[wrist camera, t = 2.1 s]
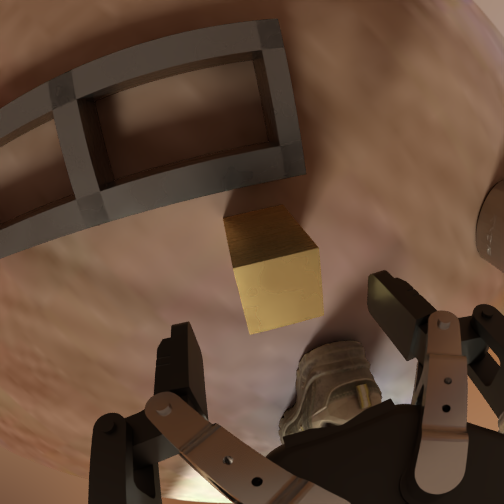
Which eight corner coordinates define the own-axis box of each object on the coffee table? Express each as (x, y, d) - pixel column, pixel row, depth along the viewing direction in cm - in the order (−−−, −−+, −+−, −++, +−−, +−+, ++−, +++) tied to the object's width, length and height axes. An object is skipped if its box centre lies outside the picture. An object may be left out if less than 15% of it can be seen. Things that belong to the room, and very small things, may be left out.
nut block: (282, 204, 20) (318, 247, 14) (290, 257, 22) (323, 315, 16) (222, 217, 20) (233, 268, 14) (235, 270, 22) (249, 334, 15)
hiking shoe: (265, 465, 32) (332, 518, 23) (261, 344, 25) (379, 417, 16) (314, 429, 37) (379, 472, 28) (330, 306, 30) (433, 351, 22)
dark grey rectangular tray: (266, 32, 15) (277, 18, 12) (291, 165, 19) (306, 174, 16) (-40, 149, 14) (-63, 156, 11) (-7, 252, 18) (-26, 269, 15)
